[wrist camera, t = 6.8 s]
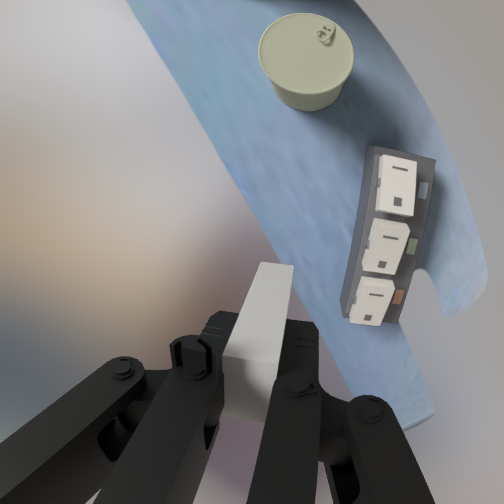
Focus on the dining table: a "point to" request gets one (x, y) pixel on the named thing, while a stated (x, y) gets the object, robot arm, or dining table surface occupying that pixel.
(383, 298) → the rocker
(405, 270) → the rocker switch panel
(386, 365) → the dining table surface
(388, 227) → the rocker
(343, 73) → the can
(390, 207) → the rocker
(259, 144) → the dining table surface
